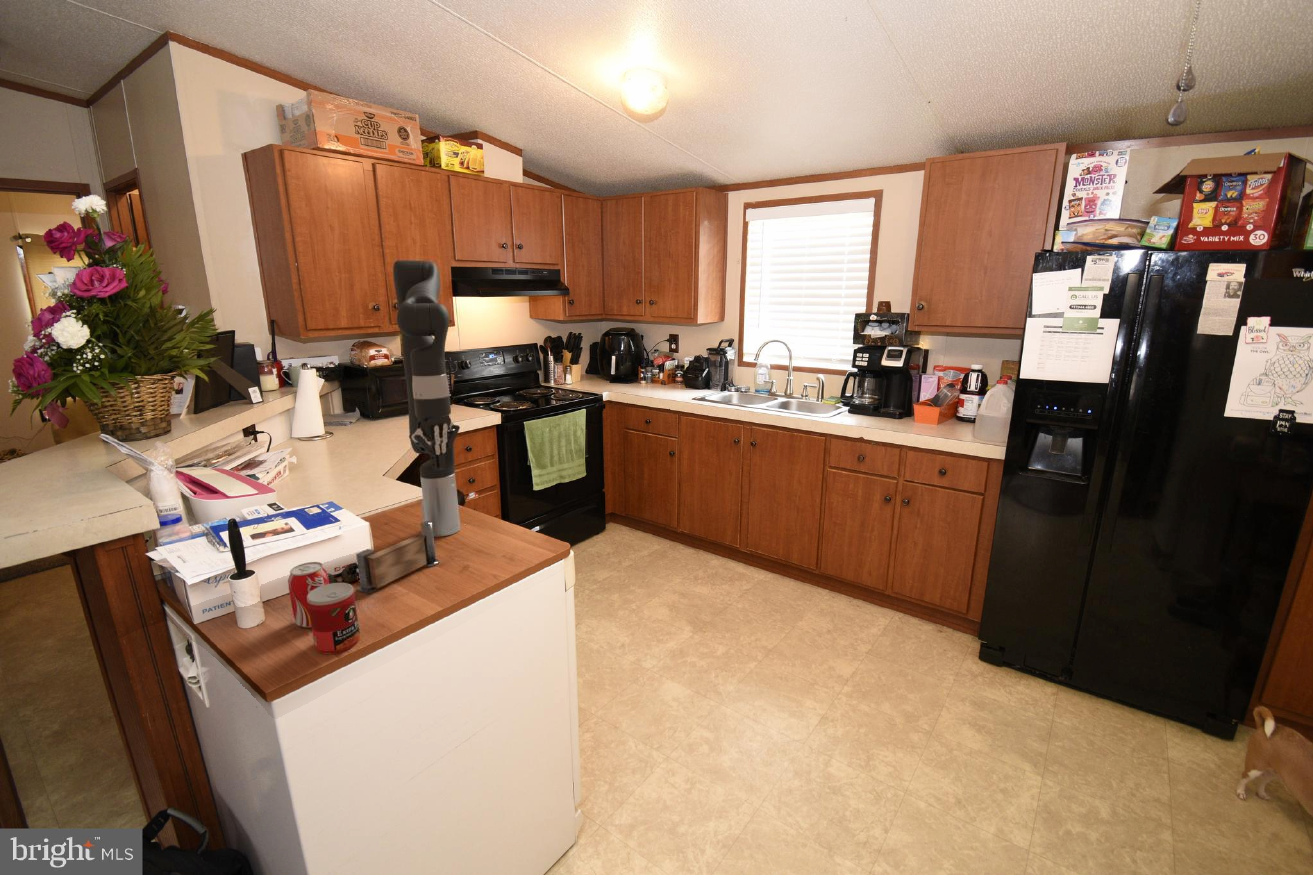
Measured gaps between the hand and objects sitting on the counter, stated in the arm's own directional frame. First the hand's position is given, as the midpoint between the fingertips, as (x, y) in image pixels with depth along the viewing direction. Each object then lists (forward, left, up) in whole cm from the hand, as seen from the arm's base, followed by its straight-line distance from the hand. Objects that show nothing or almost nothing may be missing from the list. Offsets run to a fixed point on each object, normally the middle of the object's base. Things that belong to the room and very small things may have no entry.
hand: (439, 469), depth 130 cm
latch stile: (-12, -12, -27) cm, 32 cm away
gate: (-10, -6, -26) cm, 28 cm away
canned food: (+2, -30, -27) cm, 41 cm away
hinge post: (-10, +3, -27) cm, 29 cm away
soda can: (-10, -27, -27) cm, 40 cm away
